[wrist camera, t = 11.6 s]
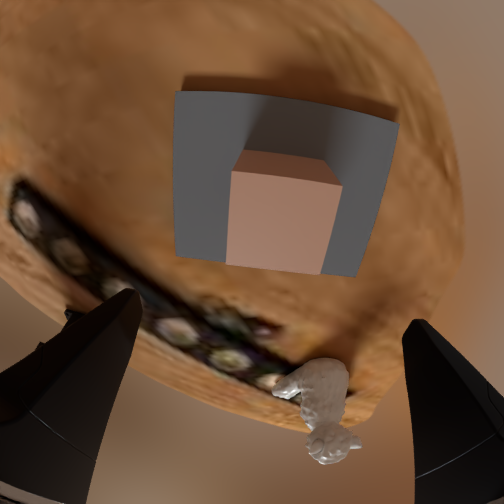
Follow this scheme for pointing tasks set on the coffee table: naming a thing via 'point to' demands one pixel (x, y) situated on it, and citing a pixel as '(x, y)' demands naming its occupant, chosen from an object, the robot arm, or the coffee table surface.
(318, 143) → the charcoal mat
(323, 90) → the coffee table surface
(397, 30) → the coffee table surface
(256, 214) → the terracotta cube
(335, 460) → the white creature statuette
